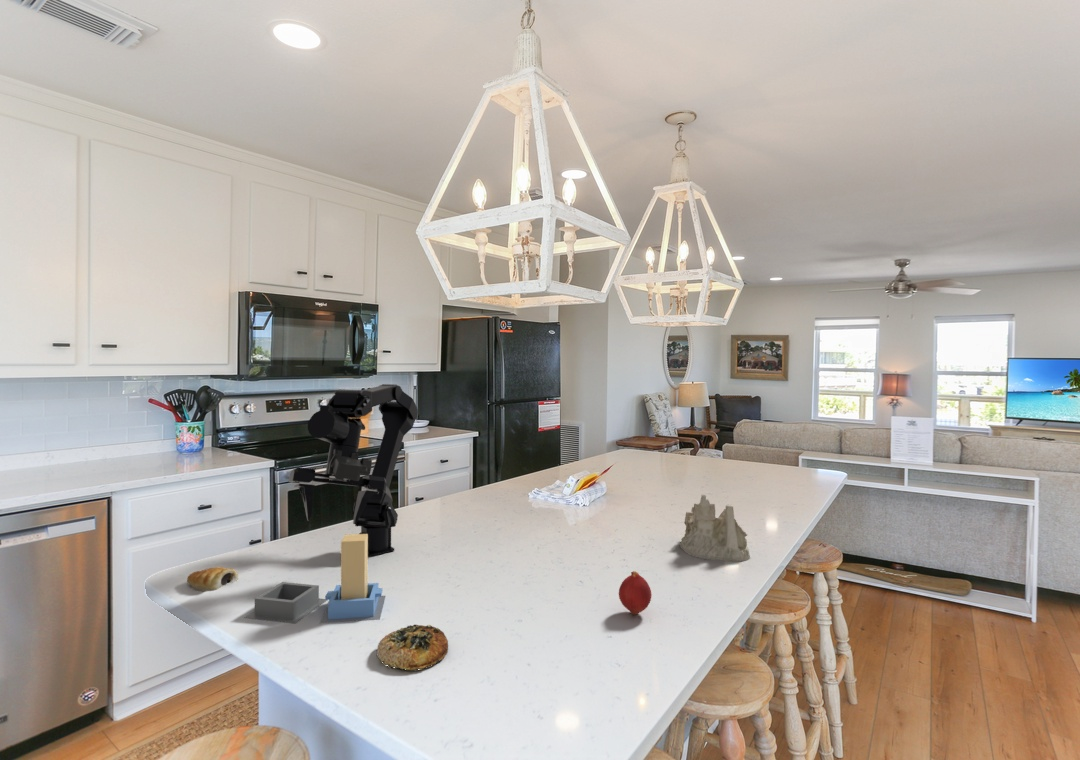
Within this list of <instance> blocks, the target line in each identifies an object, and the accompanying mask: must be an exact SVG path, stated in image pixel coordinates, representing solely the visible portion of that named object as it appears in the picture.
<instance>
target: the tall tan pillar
mask: <svg viewBox="0 0 1080 760" xmlns="http://www.w3.org/2000/svg"><path fill="white" fill-rule="evenodd" d="M340 549H341V550H340V558H341V559H340V585H341V600H346V599H363V598H368V580H369V578H368V577H369V576H368V575H369V574H368V573H369V570H368V568H369V567H368V565H369V564H368V563H369V562H368V560H369V558H368V557H369V556H368V534H359V533H358V534H357V533H356V534H354V533H352V534H345V535H344V536H343V538H342V539H341V541H340Z"/></svg>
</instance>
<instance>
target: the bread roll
mask: <svg viewBox="0 0 1080 760" xmlns="http://www.w3.org/2000/svg"><path fill="white" fill-rule="evenodd" d="M448 642H449V641H448V639H447V636H446V635H445V633H444V632H443V631H442V630H441V629H440V628H438V627H435V626H432V625H431V624H427V625H421V624H420V625H419V624H413V625H407V626H406V627H400V628H399V629H396V630H395V631H394V630H393V631H391V632H390V633H388V634H386V635H385V636H384V637H382V638H381V639H380V641H379V642H378V644H377V651H376V653H377V654H378V656H377V658H378V659H379V660H381V661H380V662H381V663H382V662H383V663H384V664H385V665H388V666H389V667H395V668H400V669H399V670H403V669H406V670H418V669H423V668H426V667H428V666H431V665H433V666H435V665H437V664H438V663H439V662H441V661H442V660H444V658H445V657H446V655H448V653H449V643H448ZM377 654H376V655H377ZM440 660H441V661H440ZM383 663H382V664H383ZM436 663H437V664H436ZM384 664H383V665H384ZM434 664H435V665H434ZM385 665H384V666H385ZM389 667H388V668H389ZM431 667H432V666H431ZM428 668H429V667H428ZM426 669H427V668H426ZM423 670H424V669H423Z"/></svg>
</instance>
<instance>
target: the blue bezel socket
mask: <svg viewBox="0 0 1080 760" xmlns="http://www.w3.org/2000/svg"><path fill="white" fill-rule="evenodd" d="M379 584H380V583H379V582H373V583H372V582H371V583H370V582H369V583H368V598H363V599H346V600H341V584H336V586H335V587H334V589H333V590H328V591H327V592H326V594H325V597H324V599H325V600H327V601H328V602H327V607H326V609H325V610H324V613H323V614H322V617H321V619H320V621H319V624H330V623H344V622H345V623H346V622H348V623H349V622H360V621H361V622H362V621H363V622H364V621H374V620H375V621H379V620H381V616H382V612H383V608H384V604H385V601H386V595H382V594H383V587H381V588H379Z"/></svg>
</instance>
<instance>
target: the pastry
mask: <svg viewBox="0 0 1080 760" xmlns="http://www.w3.org/2000/svg"><path fill="white" fill-rule="evenodd" d="M238 579H239V574H238V572H237V571H236V570H235V569H234V568H232V567H231V568H226V567H223V566H216V567H209V568H206V569H202V570H197V571H194V572H192V573H191V574H189V575H188V576H187V579H186V582H187V584H188V585H189V586H190V587H192V588H194V590H195V591H201V592H205V593H206V592H207V591H209V590H210V591H216V590H218V589H221V588H222V587H224V586H226V585H228V584H234V583H235V582H237V581H238Z"/></svg>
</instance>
